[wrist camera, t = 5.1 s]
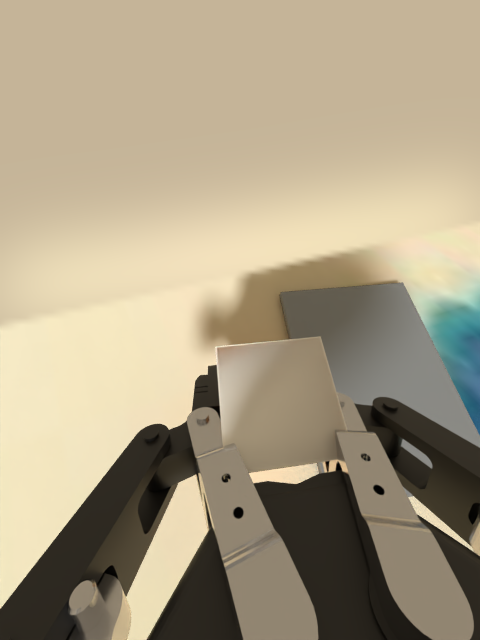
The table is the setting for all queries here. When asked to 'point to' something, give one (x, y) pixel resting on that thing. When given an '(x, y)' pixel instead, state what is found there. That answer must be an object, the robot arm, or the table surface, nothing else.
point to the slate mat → (379, 352)
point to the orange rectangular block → (278, 403)
